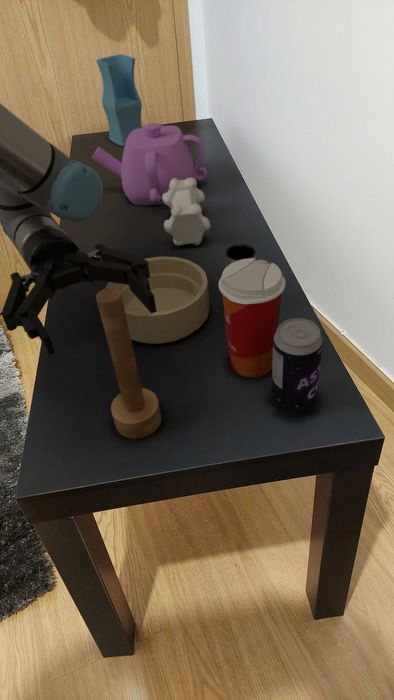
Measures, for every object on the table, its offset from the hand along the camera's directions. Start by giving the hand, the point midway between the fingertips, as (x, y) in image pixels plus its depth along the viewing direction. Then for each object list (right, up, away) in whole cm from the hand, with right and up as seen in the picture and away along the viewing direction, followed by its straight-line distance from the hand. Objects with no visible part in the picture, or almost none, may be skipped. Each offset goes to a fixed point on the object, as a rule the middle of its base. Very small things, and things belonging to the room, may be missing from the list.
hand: (103, 324), depth 62 cm
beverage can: (+24, -10, +4) cm, 26 cm away
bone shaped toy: (+9, +21, +40) cm, 46 cm away
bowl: (+6, +3, +20) cm, 21 cm away
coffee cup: (+19, -5, +10) cm, 22 cm away
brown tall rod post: (+4, -12, +4) cm, 13 cm away
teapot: (+1, +34, +55) cm, 64 cm away
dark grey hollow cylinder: (+19, +4, +20) cm, 27 cm away
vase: (-8, +56, +81) cm, 99 cm away
